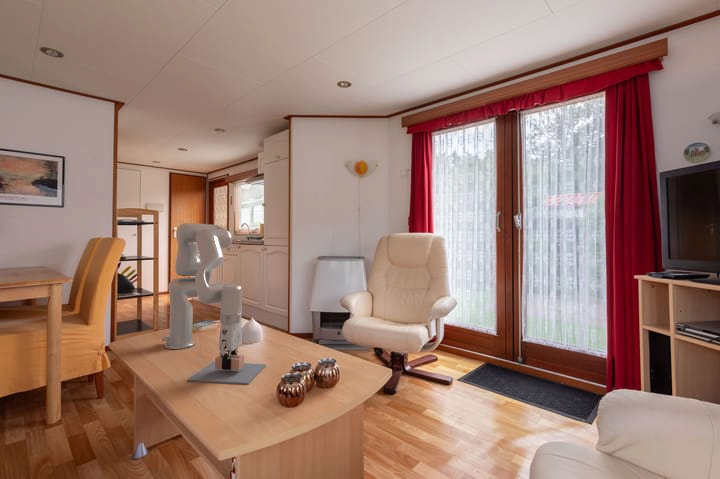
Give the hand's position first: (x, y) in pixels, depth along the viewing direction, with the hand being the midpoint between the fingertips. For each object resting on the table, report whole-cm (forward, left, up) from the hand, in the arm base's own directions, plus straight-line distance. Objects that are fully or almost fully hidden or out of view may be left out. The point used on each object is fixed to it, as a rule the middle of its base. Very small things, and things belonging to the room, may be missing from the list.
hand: (229, 366), depth 126 cm
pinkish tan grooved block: (0, 0, 0) cm, 0 cm away
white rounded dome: (-8, +42, -3) cm, 43 cm away
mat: (0, 0, -3) cm, 3 cm away
